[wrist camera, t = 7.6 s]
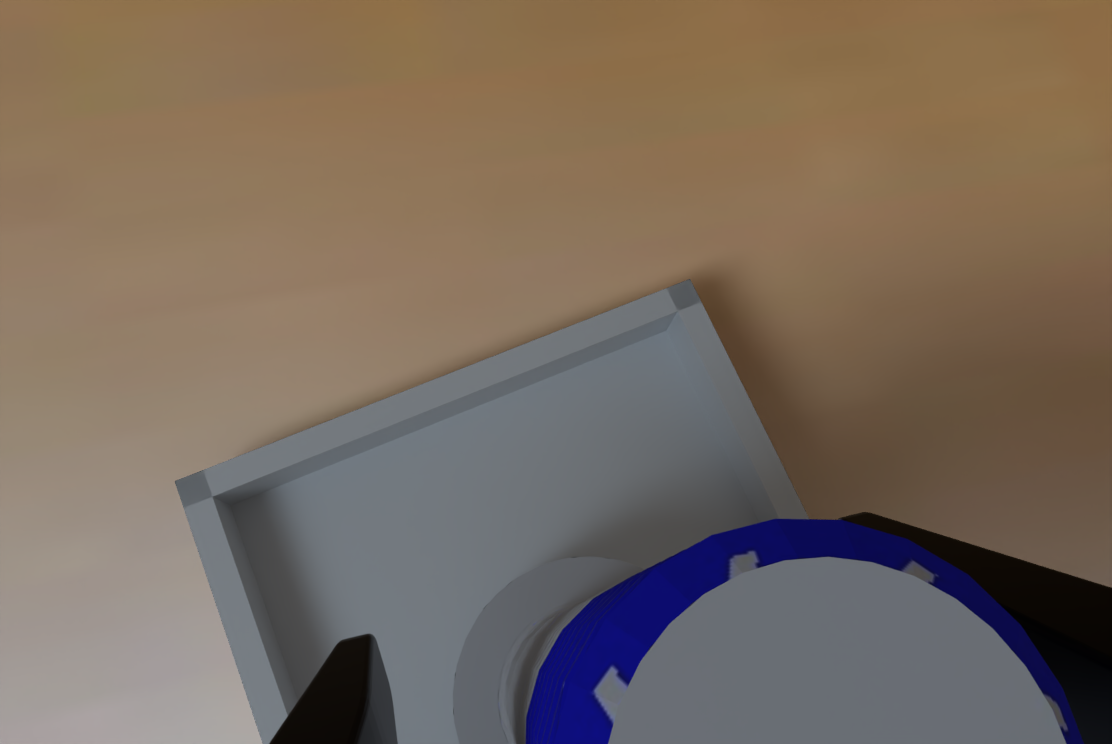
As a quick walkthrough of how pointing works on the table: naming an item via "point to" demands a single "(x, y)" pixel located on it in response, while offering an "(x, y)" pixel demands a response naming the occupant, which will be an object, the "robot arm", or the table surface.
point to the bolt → (757, 649)
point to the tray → (478, 500)
